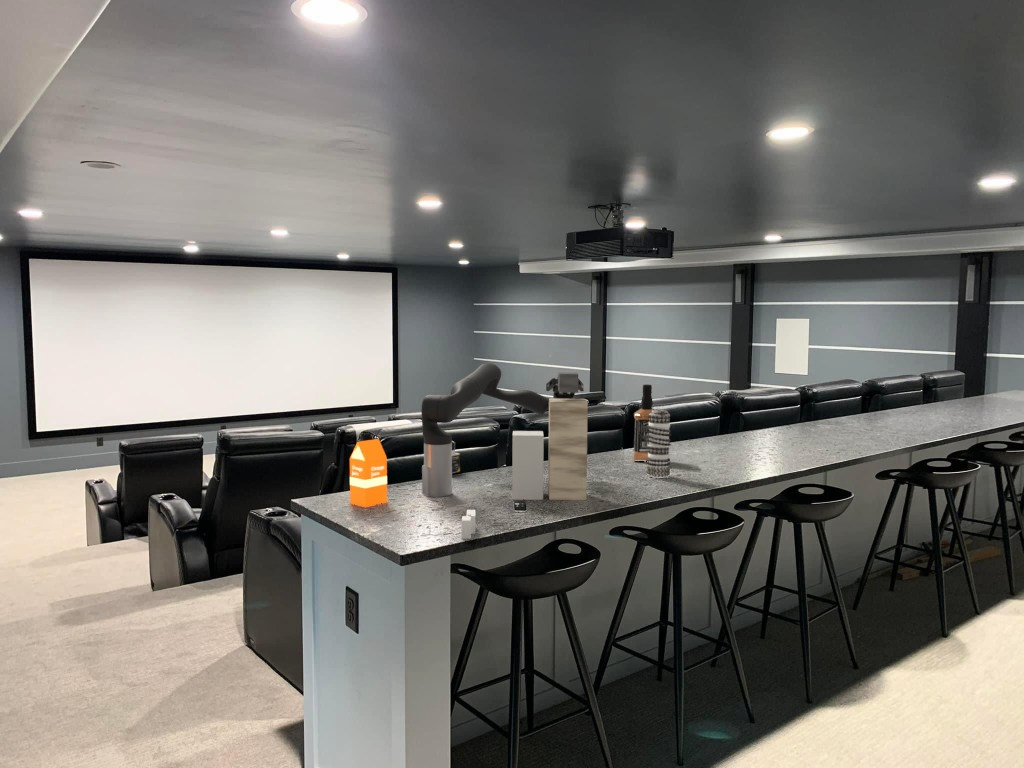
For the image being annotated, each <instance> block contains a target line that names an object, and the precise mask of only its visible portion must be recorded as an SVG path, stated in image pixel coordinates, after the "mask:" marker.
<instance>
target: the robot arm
mask: <svg viewBox="0 0 1024 768" xmlns="http://www.w3.org/2000/svg"><path fill="white" fill-rule="evenodd" d="M501 378H502V371H501V368H500V367H499V366H498V365H496V364H493V363H489V362H488V363H483V364H480V366H478V367H477V368H476V369H475V370H474V371H473V372H471V373H470V374H468V375H467V376H466V377H464V378H462V379H460V380H459V381H457V382H456V383H454V384H453V386H452V387H451V389H450V394H427V395H425V396H424V398H423V399H422V402H421V425H422V426H421V428H422V436H423V437H422V438H423V465H422V466H421V474H422V476H421V480H422V481H421V483H422V484H421V485H422V486H421V489H422V490H421V493H422V494H423V495H425V496H426V497H428V498H429V497H434V498H435V497H436V498H437V497H439V498H441V497H447V496H450V495H452V493H453V473H452V441H453V437H452V434H451V433H449V432H447V431H446V430H444V429H442V428H441V427H440V426H439V424H440V423H441V424H447V423H452V422H453V421H454V420H455V419H456V418H457V417H458V416H459V415H460V414H461V413H462V412H463V411H464V410H465V409H467V407H469V406H471V405H473V404H474V403H475V402H476V401H478V400H479V398H481V396H482V395H485V396H488V397H490V398H494V399H497V400H500V401H503V402H507V403H510V404H513V405H517V406H519V407H522V408H525V409H526V410H529V411H531V412H532V413H535V414H537V415H540V416H543V415H545V413H546V412H547V411H548V410H549V399H551V398H550V397H546V396H543V395H542V394H539V393H537V392H536V391H532V390H528V389H522V390H504V389H503V390H502V389H501V388H498V385H499V383H500V380H501ZM545 388H546V389H545V390H546V392H549V391H552V392H553V395H552V396H553V397H552V399H575V395H576V393H569V392H559V391H558V377H557V378H555V377H553V378H551V379H550V380H549V381H547V383H546V384H545ZM584 388H585V387H584V383H583V382H582V381H581V380H580V379H579V378H578V391H580V392H584V390H585V389H584ZM438 423H439V424H438Z"/></svg>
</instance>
